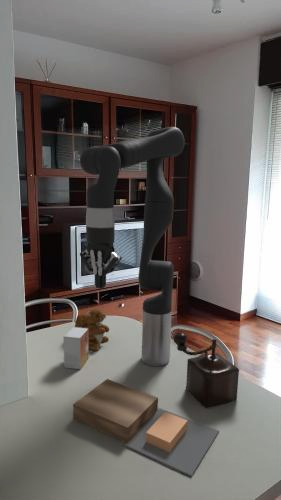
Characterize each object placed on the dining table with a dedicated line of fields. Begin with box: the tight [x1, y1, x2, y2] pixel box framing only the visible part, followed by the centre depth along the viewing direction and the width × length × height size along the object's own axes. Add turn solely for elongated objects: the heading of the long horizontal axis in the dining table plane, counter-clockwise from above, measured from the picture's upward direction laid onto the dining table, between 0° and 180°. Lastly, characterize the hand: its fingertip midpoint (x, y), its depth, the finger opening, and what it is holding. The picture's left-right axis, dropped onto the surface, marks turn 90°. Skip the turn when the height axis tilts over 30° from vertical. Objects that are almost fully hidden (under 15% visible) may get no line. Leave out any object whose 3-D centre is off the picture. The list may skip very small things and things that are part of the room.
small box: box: [63, 326, 90, 370], centre depth 118 cm, size 8×6×10 cm
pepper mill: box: [172, 332, 240, 409], centre depth 101 cm, size 16×11×18 cm
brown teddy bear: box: [74, 306, 110, 352], centre depth 133 cm, size 10×14×13 cm
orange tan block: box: [146, 412, 188, 452], centre depth 85 cm, size 9×6×2 cm, turn 148°
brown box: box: [72, 378, 159, 444], centre depth 93 cm, size 14×16×4 cm
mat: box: [124, 407, 220, 478], centre depth 85 cm, size 16×16×1 cm
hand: (100, 287), depth 101 cm, fingers closed
